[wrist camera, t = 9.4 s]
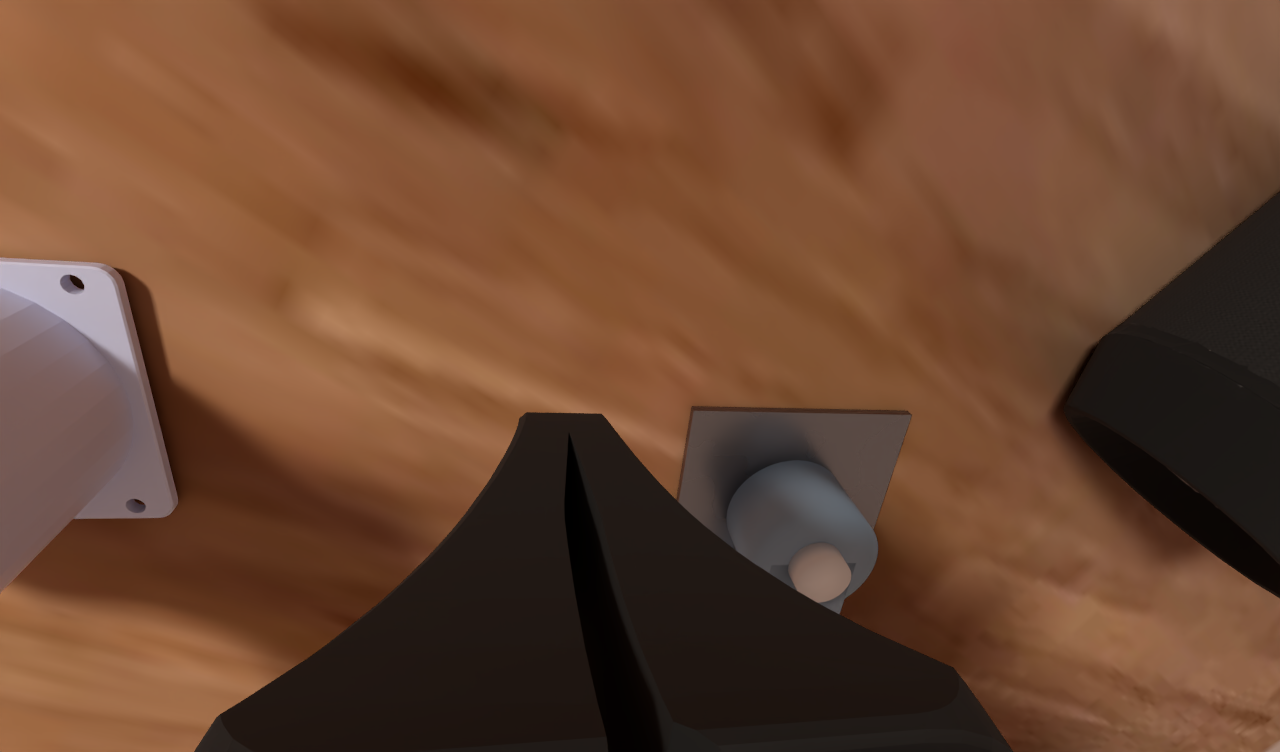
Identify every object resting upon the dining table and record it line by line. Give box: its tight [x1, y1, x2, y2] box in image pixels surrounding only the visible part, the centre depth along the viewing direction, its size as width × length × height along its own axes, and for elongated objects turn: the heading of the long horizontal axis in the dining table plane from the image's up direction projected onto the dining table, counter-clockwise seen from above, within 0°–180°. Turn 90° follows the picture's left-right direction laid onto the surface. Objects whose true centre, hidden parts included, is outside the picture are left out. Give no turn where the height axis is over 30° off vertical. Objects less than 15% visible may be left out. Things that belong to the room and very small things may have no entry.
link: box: [726, 460, 878, 614], centre depth 25 cm, size 16×4×4 cm, turn 174°
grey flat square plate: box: [677, 406, 912, 550], centre depth 24 cm, size 8×8×1 cm
